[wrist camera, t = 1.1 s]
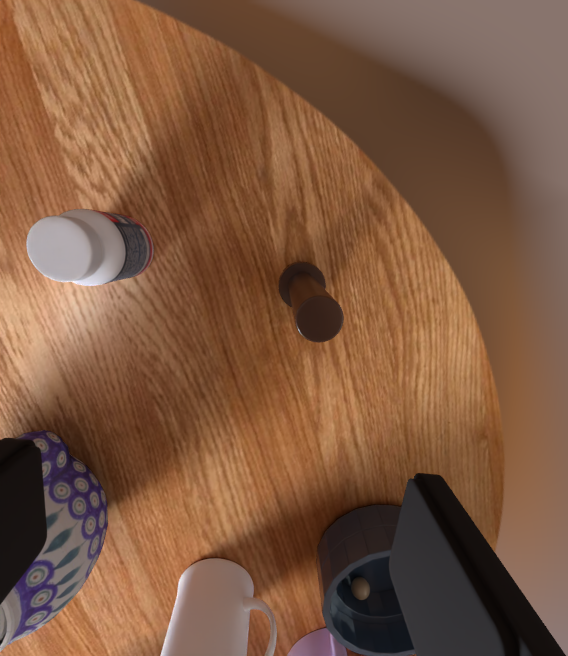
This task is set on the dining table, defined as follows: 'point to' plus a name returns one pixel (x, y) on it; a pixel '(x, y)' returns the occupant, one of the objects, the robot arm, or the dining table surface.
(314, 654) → the clip
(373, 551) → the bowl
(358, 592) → the bead
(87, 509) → the teapot
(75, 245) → the pill bottle
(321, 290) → the rod
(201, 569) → the mug
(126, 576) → the dining table surface
